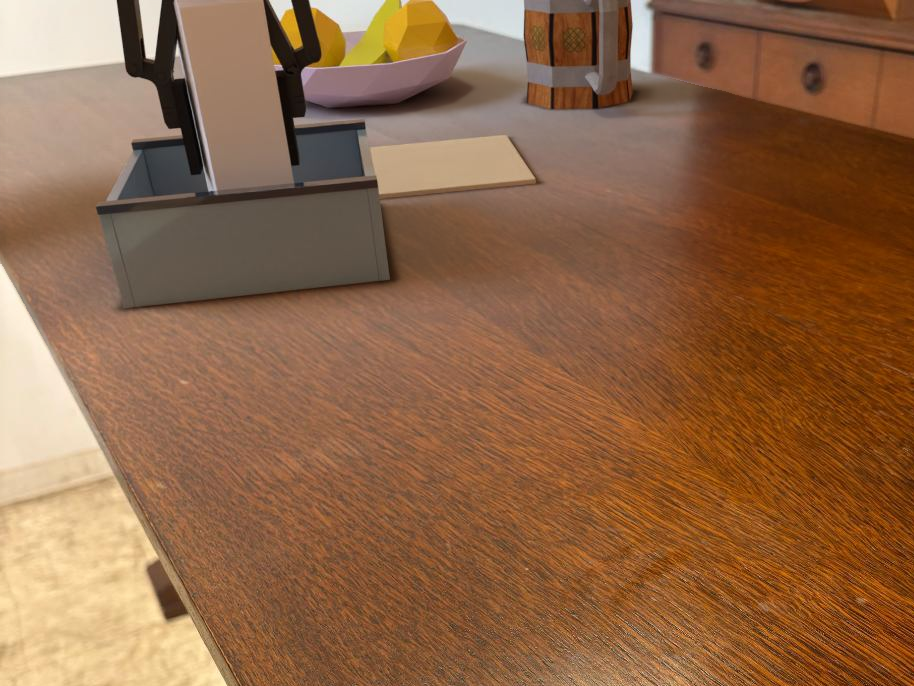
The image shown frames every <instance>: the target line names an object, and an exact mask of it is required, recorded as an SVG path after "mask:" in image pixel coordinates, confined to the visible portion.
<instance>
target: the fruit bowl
mask: <svg viewBox="0 0 914 686" xmlns="http://www.w3.org/2000/svg"><path fill="white" fill-rule="evenodd" d="M311 10H312V14H313V18H314V22H315V26H316V30H317V34H318V38H319V42H320V46H321V55H322V56H321V59H320V60H319V62H316V63H312V64H310V65H308V66H306V67H305V68H304V69H303V70H302V72H301V77H302V84H303V90H304V96H305V101H306V102H310V103H313V104H316V105H319V106H322V107H324V108H328V109H333V108H335V109H336V108H351V107H365V106H378V105H379V106H381V105H394V104H396V105H397V104H399V103H402V102H404V101H407V100H408V99H410V98H412V97H414V96H416V95H418V94H420V93H422V92H424V91H426V90H427V89H430V88H432V87H434V86H436V85H439V84H440V83H442V82H444V81H446V80H448V79H450V78H451V76H452V74H453V72H454V70H455V68H456V66H457V64H458V62H459V59H460V57H461V55H462V53H463V50H464V49H465V47H466V44H467V43H468V39H466V38H464V37H461V36H459V35H457V34H456V32H455V31H454V28H453V26H452V25H451V22H450V21H449V18H448V16H447V14H446V13H445V12H443V10H442V9H441V8H440V7H439V6H438V5H437V3H435V1H433V0H408V1H406V3H405V4H404V5H403V4H402V0H385V1H384V2H383V4H382V5H381V6H380V8H379V9H378V10H377V12H376V13H375V15H373V17H372V19H371V21H370V23H369V25H368V27H367V29H366V30H359V31H342V29H341V27H340V24H339V23H337V22H336V21H335V20H333V19H332V18H330V17H329V16H328V15H326V14H325V13H324V12H322V11H321V10H320V9H319V8H316V7H312V6H311ZM279 21H280V23H281V25H282V27H283V29H284V31H285V33H286V35H287V36H288V38H289V40H290V42H291V44H292V46H293V48H294V50H295V49H297V48H299V47H301V46H303V44H302V41H301V37H300V33H299V29H298V25H297V21H296V17H295V14H294V10H293V8H290V9H289V8H288V9H287V10H285V11H284V13H283V15H282V17H281V19H280V20H279ZM271 49H272V55H273V61H274V67H275V71H278V70H283V68H282V66H281V64H280V62H279V60H278V58H277V56H276V54H275V52H274V50H273V48H272V47H271Z"/></svg>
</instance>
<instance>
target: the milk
mask: <svg viewBox="0 0 914 686" xmlns="http://www.w3.org/2000/svg"><path fill="white" fill-rule="evenodd" d="M174 7H175V12H176V17H177V51H178V55H179V60H180V65H181V70H182V75H183V78H185V81H186V86H187V90H188V95H189V100H190V104H191V109H192V114H193V118H194V123H195V128H196V133H197V137H198V142H199V147H200V151H201V156H202V161H203V165H204V166H203V168H204V173H205V178H206V182H207V187H208V191H218V190H228V189H238V188H249V187H259V186H270V185H280V184H291V183H294V180H293V174H292V168H291V162H290V156H289V150H288V144H287V138H286V132H285V126H284V120H283V115H282V109H281V103H280V97H279V91H278V85H277V79H276V73H275V67H274V61H273V55H272V49H271V43H270V37H269V32H268V26H267V20H266V14H265V8H264V2H263V0H174Z"/></svg>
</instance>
